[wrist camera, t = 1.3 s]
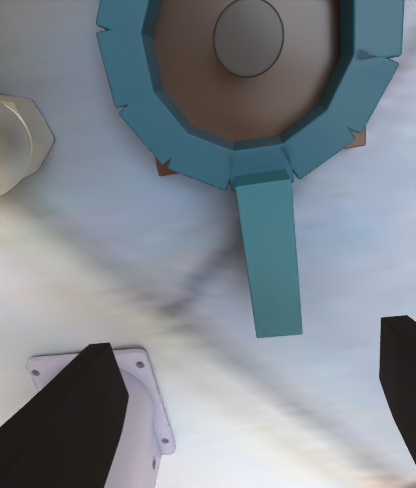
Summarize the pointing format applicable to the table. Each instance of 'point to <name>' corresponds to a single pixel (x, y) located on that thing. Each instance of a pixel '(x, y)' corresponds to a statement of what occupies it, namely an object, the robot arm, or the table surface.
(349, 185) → the table surface
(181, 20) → the ring stand
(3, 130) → the valve
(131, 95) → the ring
